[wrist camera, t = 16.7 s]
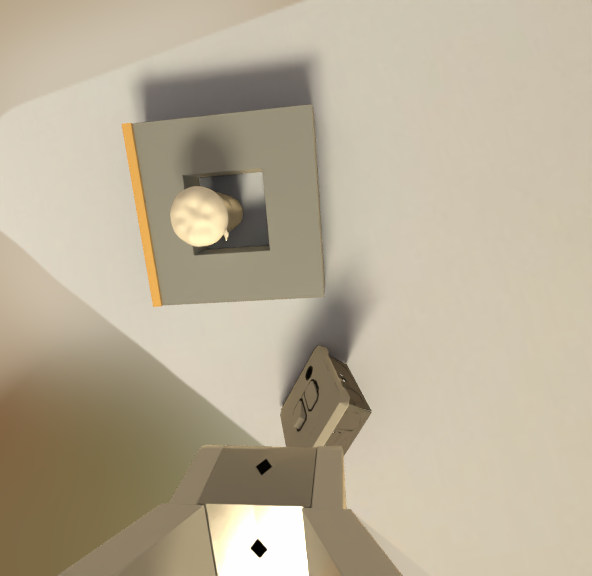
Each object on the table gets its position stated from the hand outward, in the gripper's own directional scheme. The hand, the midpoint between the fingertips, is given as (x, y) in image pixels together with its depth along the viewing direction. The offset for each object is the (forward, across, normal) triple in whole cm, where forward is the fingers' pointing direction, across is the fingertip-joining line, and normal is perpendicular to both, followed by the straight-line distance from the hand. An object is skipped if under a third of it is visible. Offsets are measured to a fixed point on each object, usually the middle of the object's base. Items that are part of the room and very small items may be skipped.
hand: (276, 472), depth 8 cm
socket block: (+30, +8, -5) cm, 31 cm away
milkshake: (+30, +9, -4) cm, 32 cm away
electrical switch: (+30, +2, +14) cm, 33 cm away
